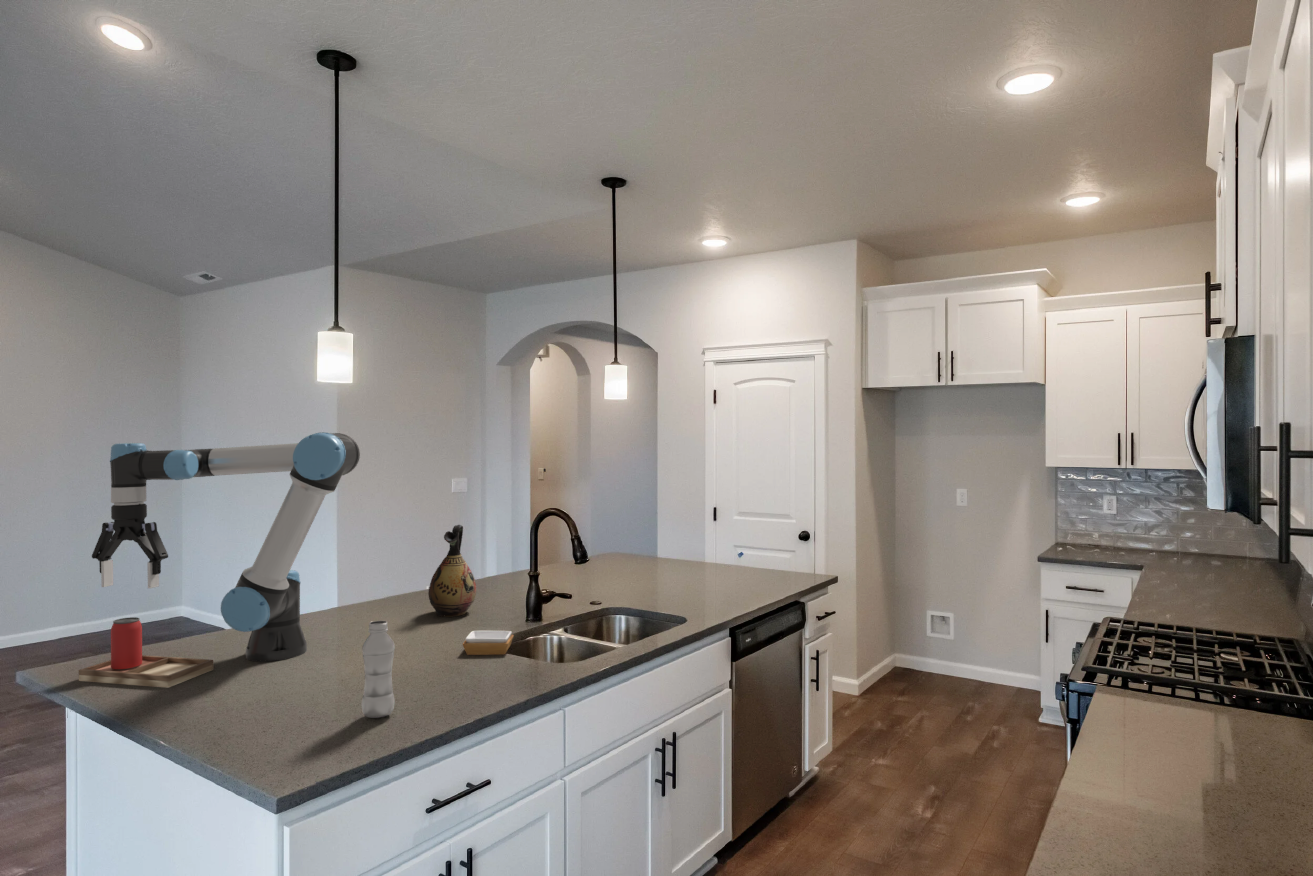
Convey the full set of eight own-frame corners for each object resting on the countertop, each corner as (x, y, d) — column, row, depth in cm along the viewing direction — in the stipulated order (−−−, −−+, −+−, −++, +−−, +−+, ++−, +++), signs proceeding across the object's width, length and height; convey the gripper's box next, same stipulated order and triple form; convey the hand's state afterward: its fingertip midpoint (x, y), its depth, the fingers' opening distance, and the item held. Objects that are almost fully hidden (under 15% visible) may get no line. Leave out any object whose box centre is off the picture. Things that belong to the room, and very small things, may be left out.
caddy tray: (213, 670, 198) (213, 659, 198) (168, 687, 185) (168, 676, 185) (128, 664, 204) (128, 654, 204) (78, 681, 190) (78, 670, 190)
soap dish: (462, 657, 210) (462, 639, 210) (470, 647, 220) (470, 629, 220) (508, 657, 210) (508, 638, 210) (514, 647, 220) (514, 629, 220)
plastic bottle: (366, 711, 168) (366, 619, 168) (398, 710, 169) (397, 618, 169) (357, 722, 162) (357, 626, 162) (390, 721, 162) (390, 625, 162)
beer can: (126, 672, 192) (126, 623, 192) (104, 670, 193) (103, 622, 193) (148, 664, 198) (148, 617, 198) (127, 662, 199) (126, 616, 199)
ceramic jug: (469, 621, 251) (469, 528, 251) (422, 621, 251) (422, 528, 251) (482, 609, 268) (482, 522, 268) (437, 609, 268) (437, 522, 268)
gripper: (183, 502, 199) (184, 584, 199) (100, 502, 203) (101, 582, 203) (159, 505, 191) (161, 590, 192) (73, 504, 196) (75, 588, 196)
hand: (130, 586), depth 197 cm, fingers open, 13 cm apart
